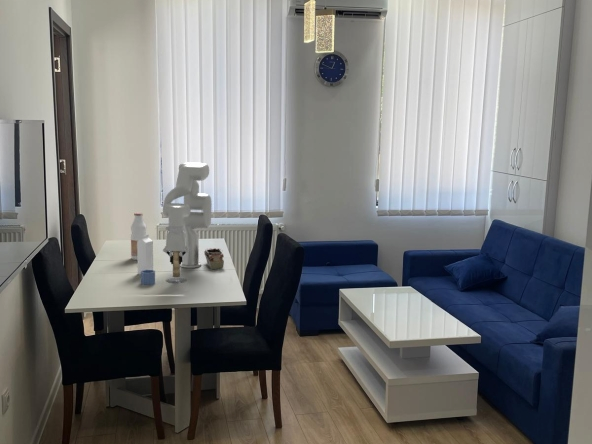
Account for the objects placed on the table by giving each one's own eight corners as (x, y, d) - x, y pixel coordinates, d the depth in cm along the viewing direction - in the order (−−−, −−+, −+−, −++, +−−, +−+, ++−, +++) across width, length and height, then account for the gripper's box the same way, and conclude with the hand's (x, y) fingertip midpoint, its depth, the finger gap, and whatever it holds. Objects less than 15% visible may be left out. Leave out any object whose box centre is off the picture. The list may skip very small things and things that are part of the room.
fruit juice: (135, 261, 368) (134, 214, 364) (128, 258, 375) (127, 212, 371) (149, 259, 374) (149, 213, 369) (143, 256, 381) (142, 211, 377)
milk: (137, 275, 336) (136, 235, 332) (144, 272, 342) (144, 234, 338) (146, 276, 334) (145, 236, 330) (153, 274, 339) (152, 235, 335)
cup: (142, 282, 322) (141, 269, 320) (156, 282, 322) (155, 269, 321) (140, 286, 314) (139, 273, 313) (154, 286, 315) (154, 273, 314)
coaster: (166, 279, 330) (166, 277, 329) (187, 279, 331) (187, 277, 331) (164, 284, 319) (164, 283, 319) (186, 284, 320) (186, 283, 320)
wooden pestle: (173, 275, 326) (172, 242, 323) (180, 275, 326) (179, 242, 323) (172, 277, 322) (172, 243, 319) (179, 277, 322) (179, 243, 319)
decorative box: (200, 270, 351) (200, 253, 349) (199, 262, 370) (199, 246, 368) (224, 269, 353) (224, 253, 352) (221, 261, 373) (221, 245, 371)
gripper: (158, 230, 315) (159, 265, 318) (191, 230, 317) (191, 265, 320) (160, 228, 323) (160, 262, 326) (192, 228, 325) (192, 262, 328)
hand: (176, 263), depth 323 cm, fingers closed on wooden pestle, 3 cm apart
